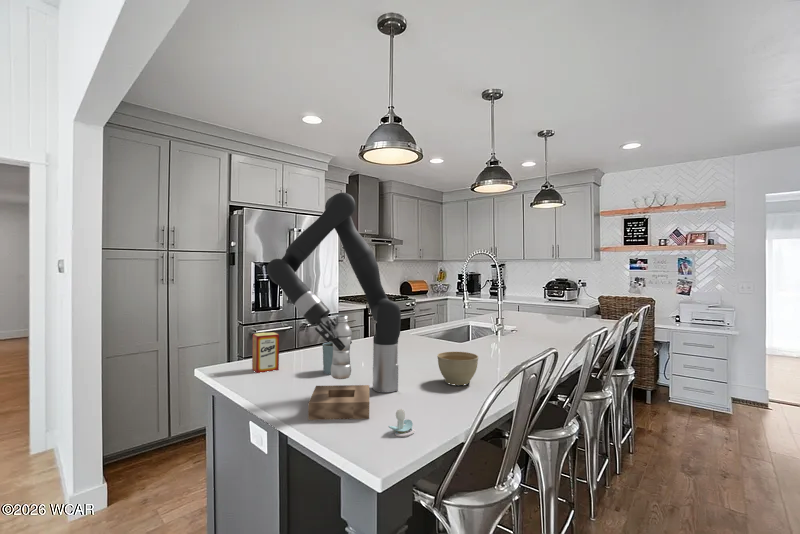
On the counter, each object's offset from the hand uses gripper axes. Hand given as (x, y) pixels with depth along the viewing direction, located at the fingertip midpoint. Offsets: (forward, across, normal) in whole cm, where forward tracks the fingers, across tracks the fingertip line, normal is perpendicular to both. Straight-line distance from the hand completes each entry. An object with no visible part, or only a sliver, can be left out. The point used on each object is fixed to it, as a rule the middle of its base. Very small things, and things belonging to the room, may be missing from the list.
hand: (346, 346), depth 125 cm
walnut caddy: (+13, 0, +15) cm, 20 cm away
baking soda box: (-20, +38, +49) cm, 65 cm away
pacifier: (+29, -13, 0) cm, 32 cm away
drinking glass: (+1, +42, +28) cm, 50 cm away
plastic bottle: (+6, 0, +9) cm, 11 cm away
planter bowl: (+38, +37, -10) cm, 54 cm away
